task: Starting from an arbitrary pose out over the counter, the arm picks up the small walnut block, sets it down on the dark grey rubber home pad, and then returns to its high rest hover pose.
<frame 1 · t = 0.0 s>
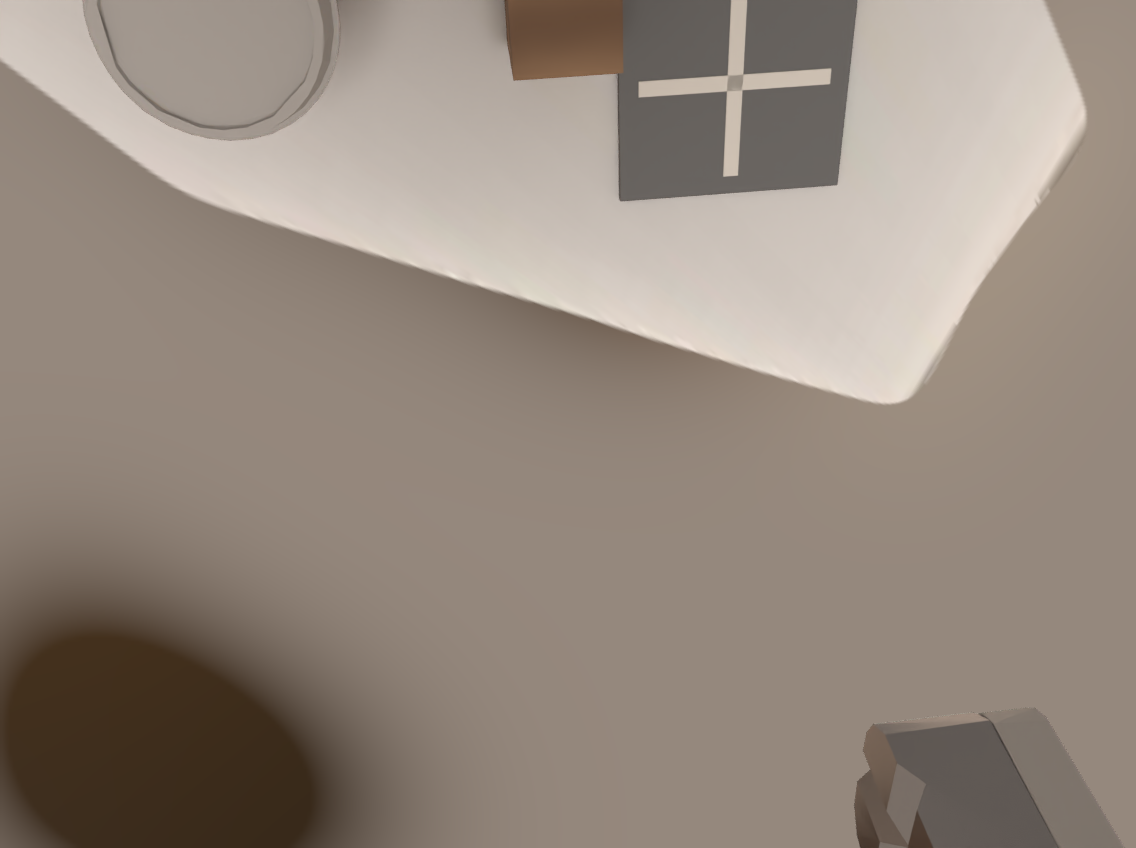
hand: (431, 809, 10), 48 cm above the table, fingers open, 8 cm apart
home pad: (733, 80, 55), on the table
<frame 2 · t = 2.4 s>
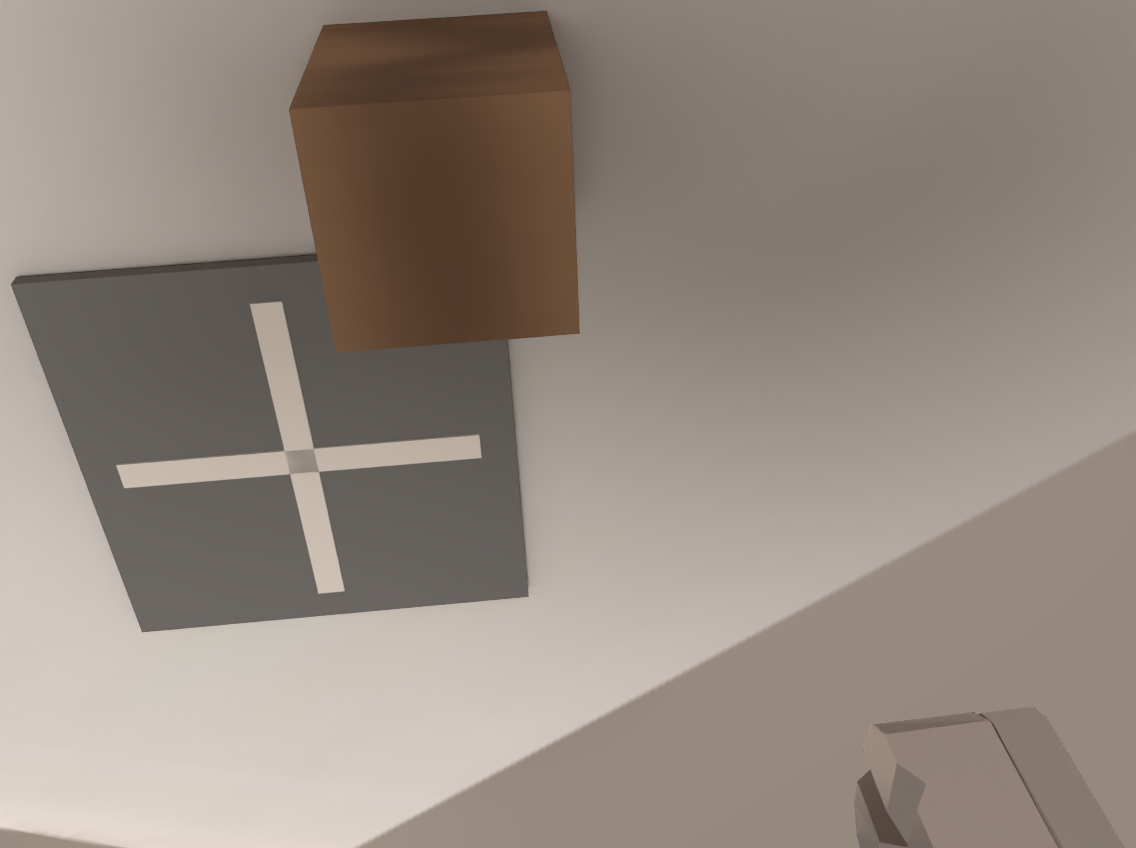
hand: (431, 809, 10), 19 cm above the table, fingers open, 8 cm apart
home pad: (303, 451, 30), on the table
walnut block: (447, 126, 25), on the table
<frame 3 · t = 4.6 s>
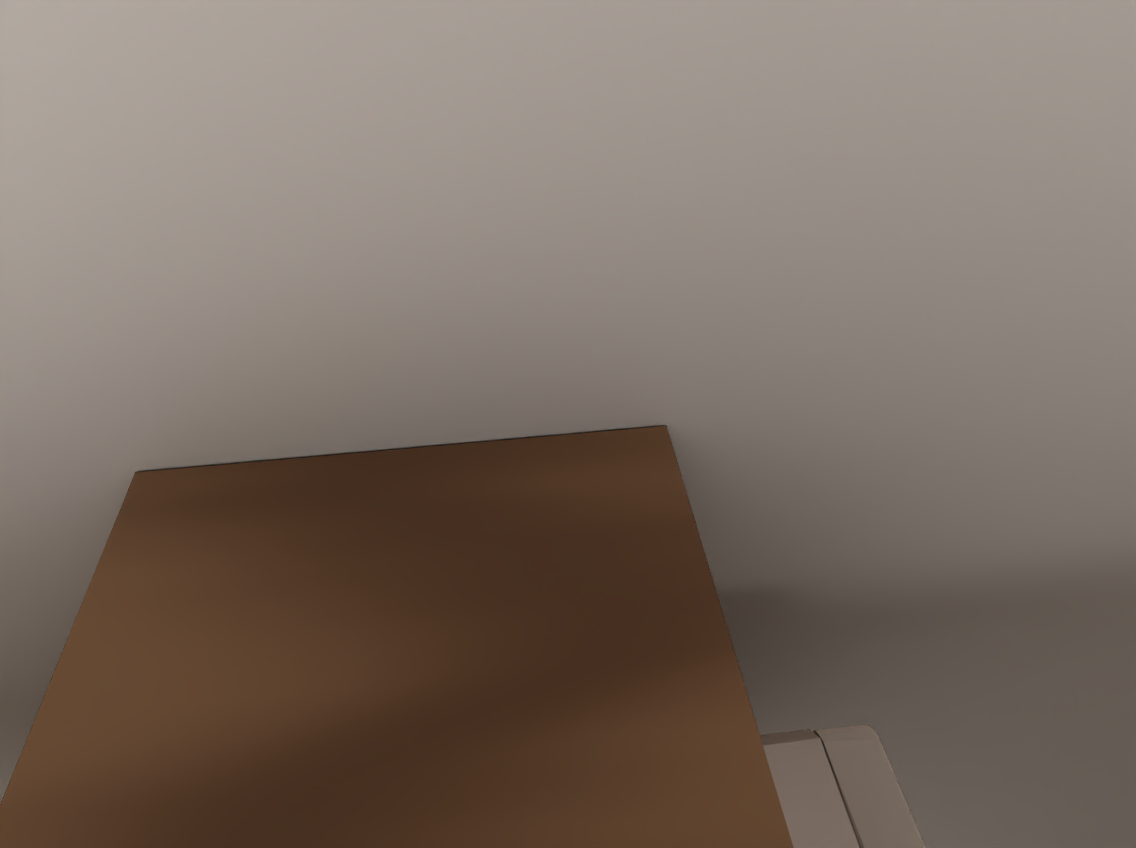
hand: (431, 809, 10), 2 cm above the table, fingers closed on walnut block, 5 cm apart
walnut block: (434, 636, 11), on the table, touching gripper
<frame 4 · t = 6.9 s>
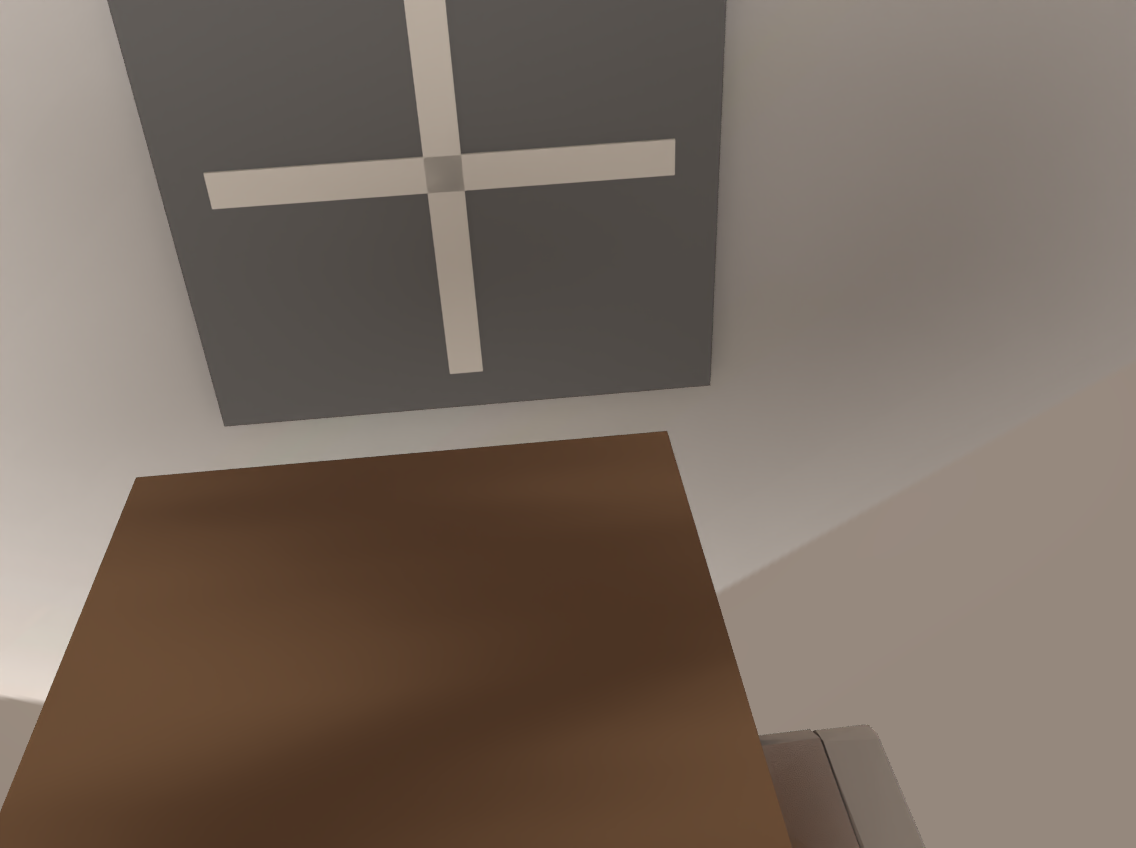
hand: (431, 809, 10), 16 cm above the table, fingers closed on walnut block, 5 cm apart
home pad: (444, 166, 23), on the table
walnut block: (434, 641, 11), point 14 cm above the table, touching gripper
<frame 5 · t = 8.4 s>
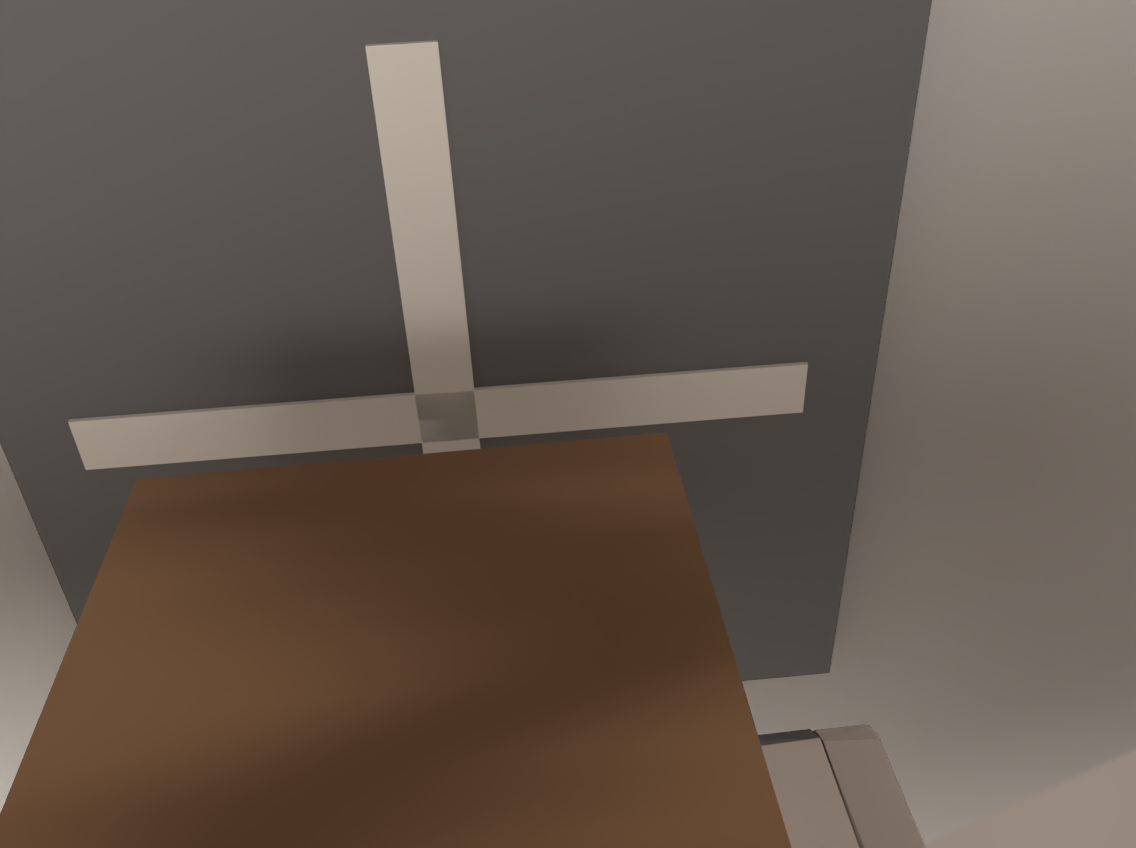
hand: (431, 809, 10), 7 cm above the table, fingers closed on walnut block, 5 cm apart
home pad: (447, 398, 15), on the table
walnut block: (434, 642, 11), point 4 cm above the table, touching gripper
when the fingers open (4 cm above the table, at t = 9.4 s): walnut block drops 1 cm, resting on home pad.
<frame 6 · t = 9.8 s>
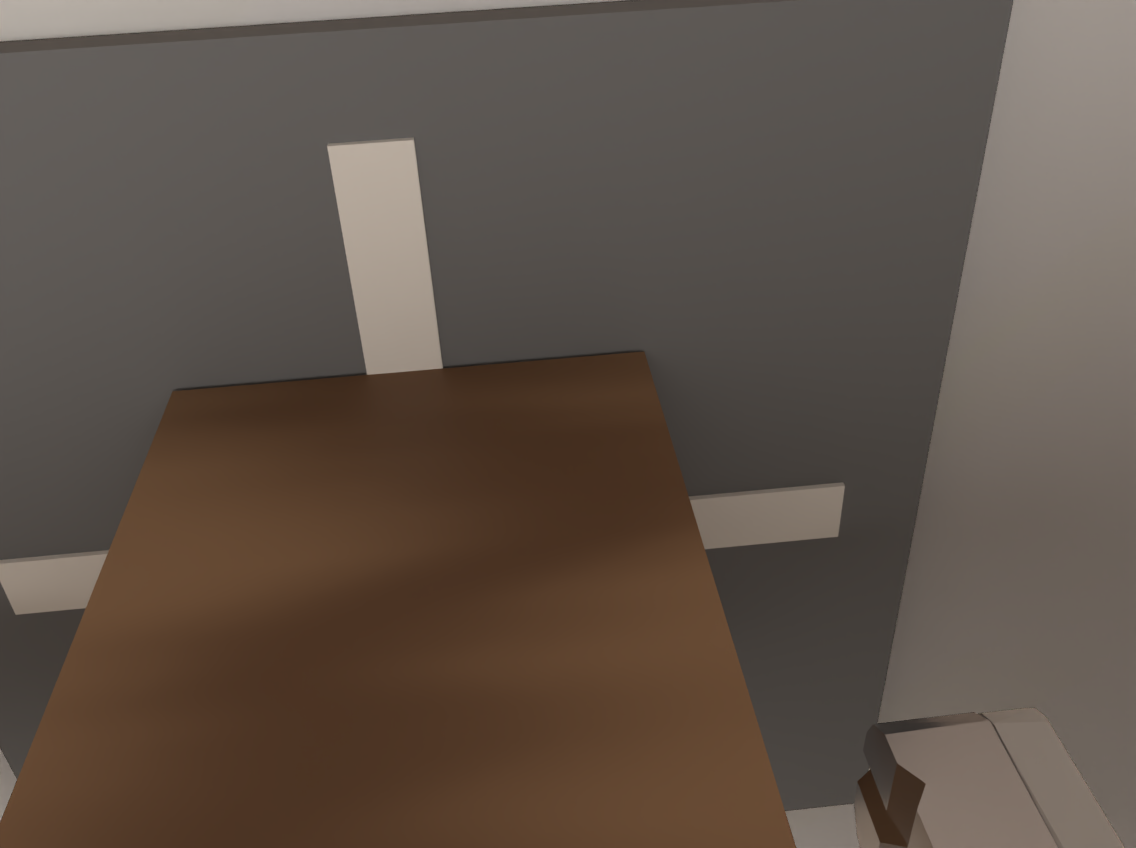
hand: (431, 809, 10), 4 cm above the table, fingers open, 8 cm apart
home pad: (432, 524, 13), on the table
walnut block: (437, 549, 13), resting on home pad
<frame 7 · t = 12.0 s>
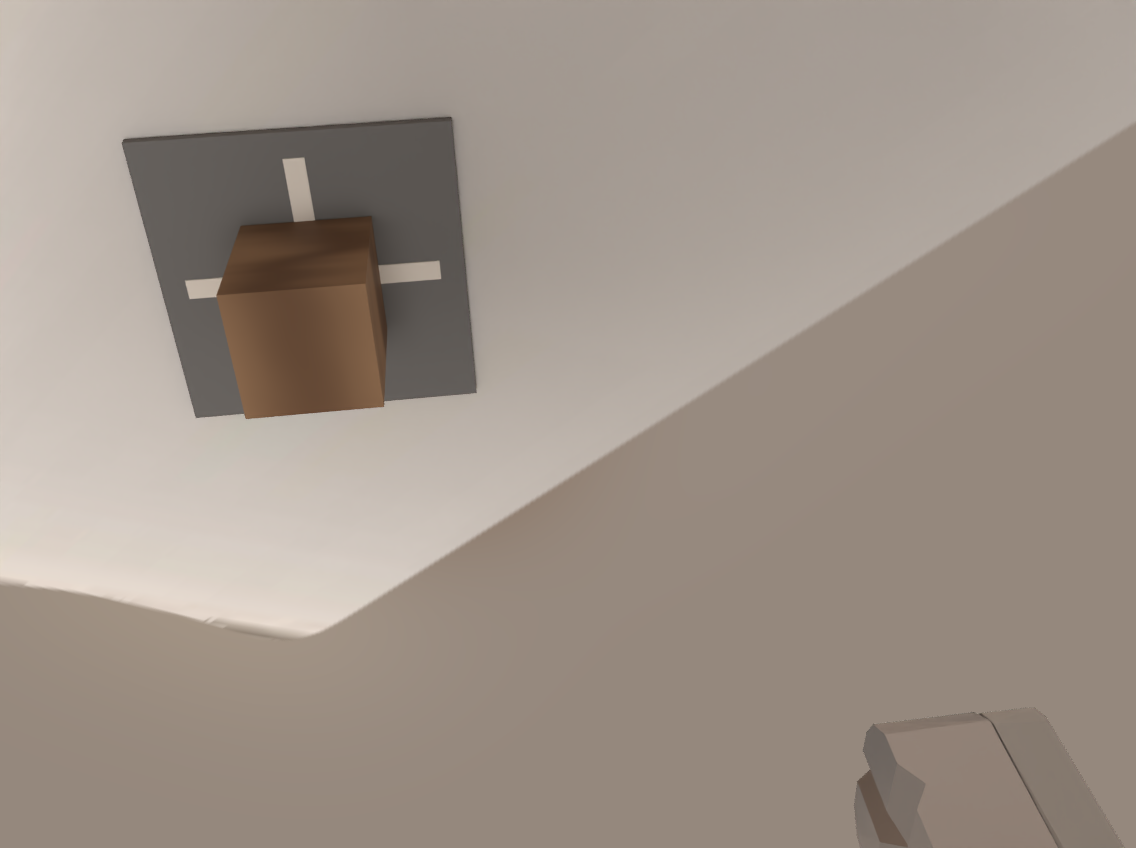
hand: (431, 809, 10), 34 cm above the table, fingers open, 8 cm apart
home pad: (315, 274, 43), on the table
walnut block: (316, 279, 42), resting on home pad
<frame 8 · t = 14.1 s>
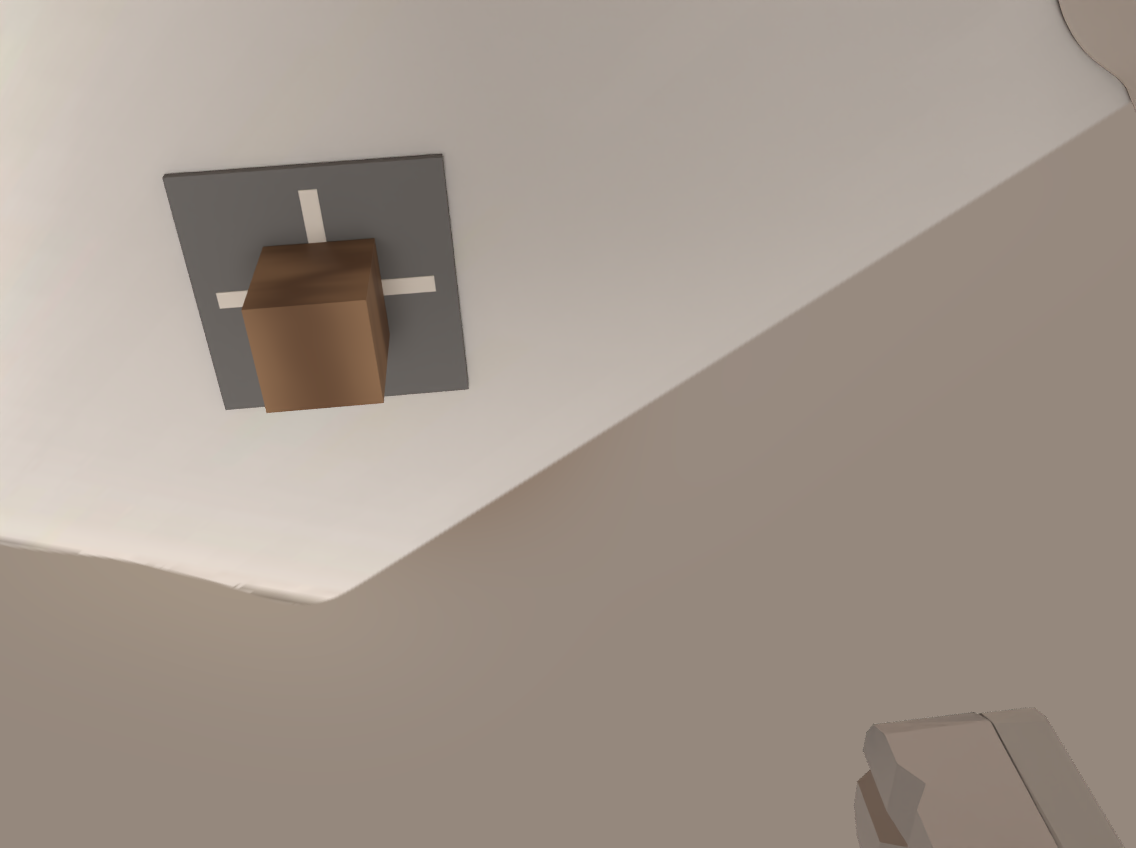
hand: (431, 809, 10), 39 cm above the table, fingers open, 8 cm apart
home pad: (327, 287, 49), on the table
walnut block: (328, 292, 49), resting on home pad
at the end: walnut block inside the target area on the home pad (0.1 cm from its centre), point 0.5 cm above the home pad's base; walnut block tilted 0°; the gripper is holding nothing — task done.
